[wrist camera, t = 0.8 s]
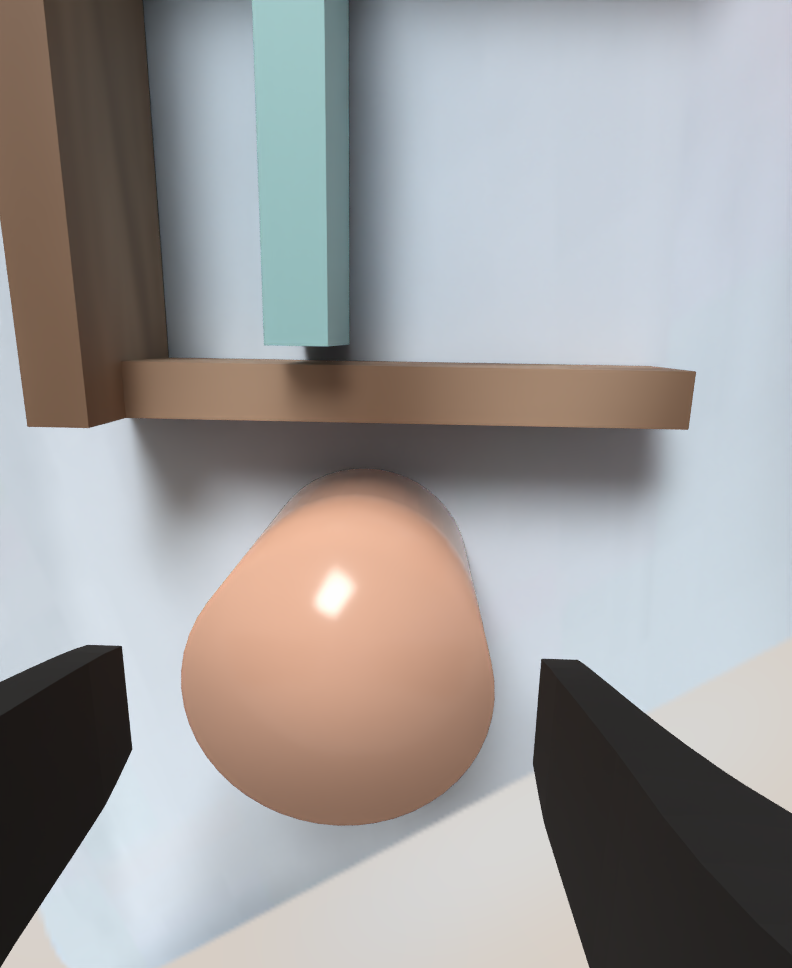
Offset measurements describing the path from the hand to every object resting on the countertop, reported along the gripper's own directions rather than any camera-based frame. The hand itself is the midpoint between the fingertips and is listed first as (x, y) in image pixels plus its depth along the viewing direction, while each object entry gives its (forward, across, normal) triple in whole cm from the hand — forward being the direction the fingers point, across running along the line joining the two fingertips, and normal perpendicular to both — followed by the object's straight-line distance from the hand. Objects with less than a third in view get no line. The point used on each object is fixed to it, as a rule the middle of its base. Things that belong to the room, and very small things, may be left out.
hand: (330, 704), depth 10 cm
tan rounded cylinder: (+6, 0, 0) cm, 6 cm away
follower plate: (+6, +1, -10) cm, 12 cm away
